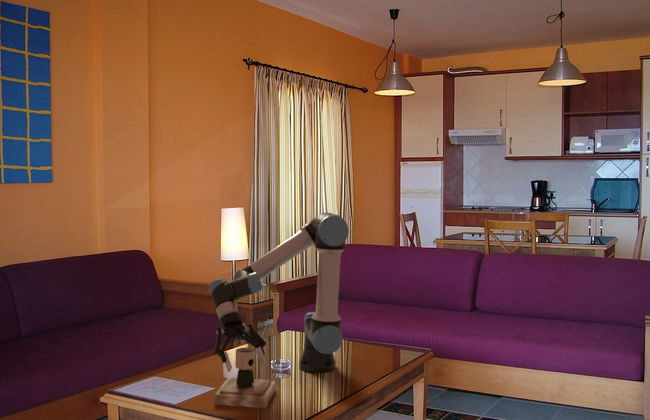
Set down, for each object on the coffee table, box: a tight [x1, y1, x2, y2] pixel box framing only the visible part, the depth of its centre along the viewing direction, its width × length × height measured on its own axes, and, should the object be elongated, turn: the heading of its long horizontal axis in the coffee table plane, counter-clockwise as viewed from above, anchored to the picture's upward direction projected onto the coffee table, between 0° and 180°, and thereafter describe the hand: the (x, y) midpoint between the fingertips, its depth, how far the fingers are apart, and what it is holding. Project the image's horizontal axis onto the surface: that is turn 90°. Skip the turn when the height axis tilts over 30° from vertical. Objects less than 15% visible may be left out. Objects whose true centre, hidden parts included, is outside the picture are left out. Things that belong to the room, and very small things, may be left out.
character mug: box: [235, 347, 257, 387], centre depth 239 cm, size 11×7×13 cm, turn 162°
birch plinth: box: [214, 377, 276, 409], centre depth 240 cm, size 18×18×4 cm
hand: (247, 367), depth 239 cm, fingers open, 13 cm apart
